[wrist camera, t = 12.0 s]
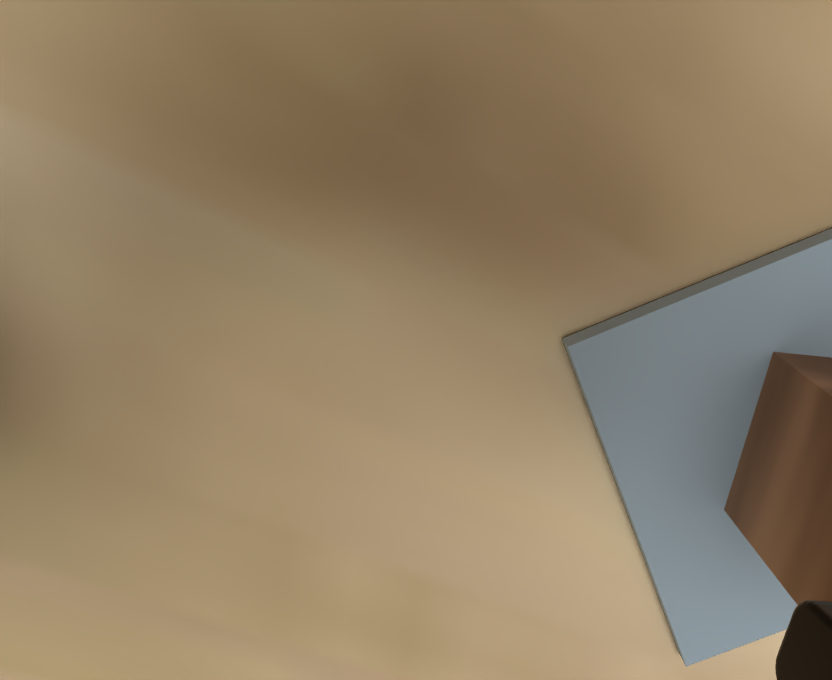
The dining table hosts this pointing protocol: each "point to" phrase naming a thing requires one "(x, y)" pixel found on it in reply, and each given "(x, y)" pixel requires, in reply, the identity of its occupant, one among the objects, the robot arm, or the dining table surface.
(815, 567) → the walnut block
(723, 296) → the slate mat
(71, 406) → the dining table surface
